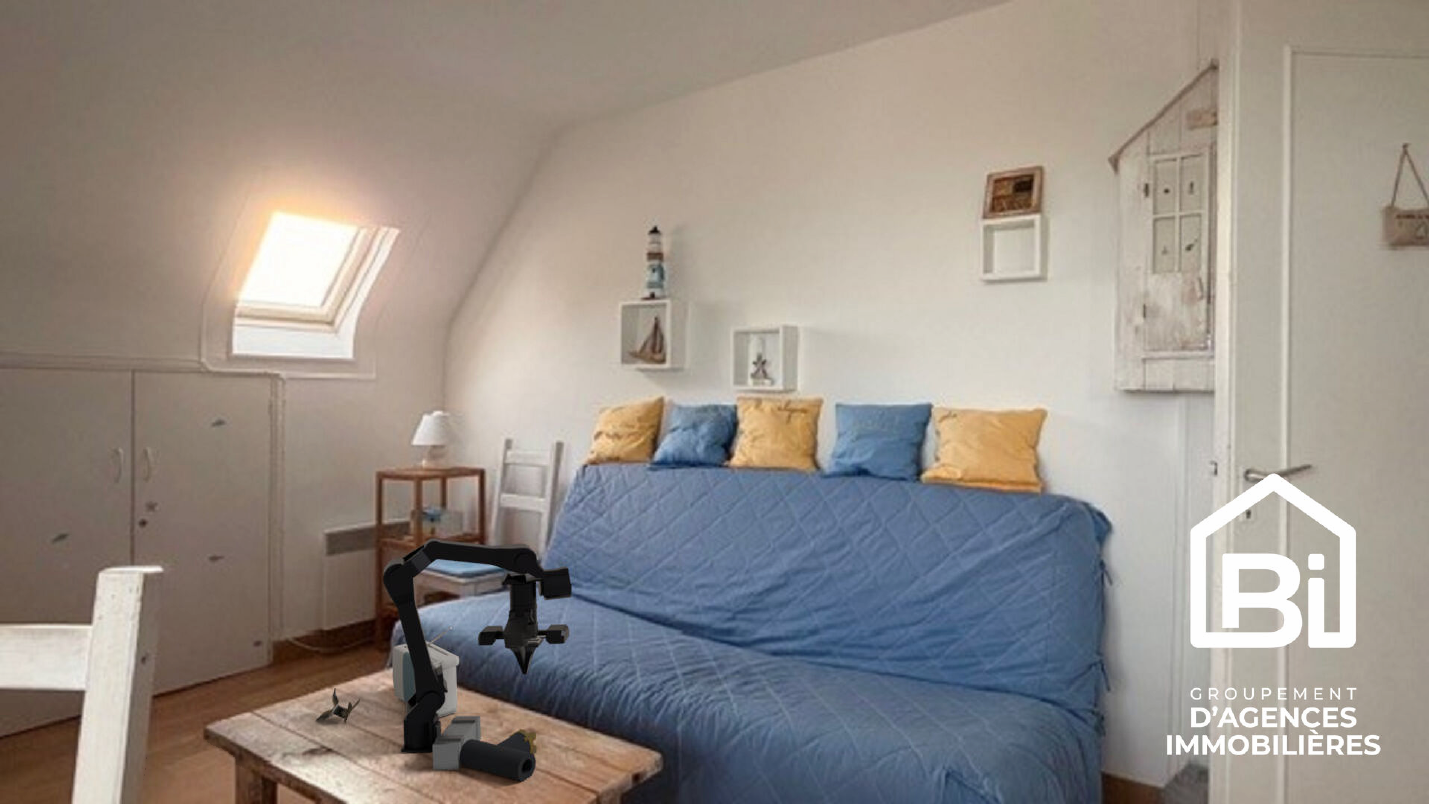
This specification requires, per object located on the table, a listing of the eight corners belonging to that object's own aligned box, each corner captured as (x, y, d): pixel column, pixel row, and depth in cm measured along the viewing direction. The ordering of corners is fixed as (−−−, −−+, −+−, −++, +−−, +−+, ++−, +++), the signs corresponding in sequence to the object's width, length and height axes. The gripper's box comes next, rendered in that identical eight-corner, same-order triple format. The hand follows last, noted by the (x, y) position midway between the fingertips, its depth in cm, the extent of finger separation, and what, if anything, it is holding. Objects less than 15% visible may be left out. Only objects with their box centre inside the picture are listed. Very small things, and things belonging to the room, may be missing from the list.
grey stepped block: (433, 770, 157) (432, 742, 157) (457, 739, 171) (456, 714, 171) (458, 769, 157) (458, 742, 156) (480, 739, 171) (480, 713, 170)
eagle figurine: (367, 710, 186) (340, 697, 189) (355, 691, 182) (328, 678, 185) (341, 738, 180) (314, 724, 184) (329, 719, 176) (302, 705, 180)
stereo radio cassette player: (392, 700, 195) (389, 617, 194) (425, 691, 200) (422, 611, 200) (427, 724, 179) (425, 635, 179) (462, 713, 185) (460, 627, 185)
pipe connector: (500, 721, 167) (557, 734, 160) (501, 746, 167) (558, 760, 160) (458, 744, 157) (517, 758, 150) (460, 771, 157) (518, 787, 150)
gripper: (468, 613, 167) (470, 688, 167) (558, 611, 167) (560, 686, 167) (485, 600, 178) (486, 670, 179) (568, 598, 178) (570, 668, 178)
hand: (525, 673), depth 175 cm, fingers closed
